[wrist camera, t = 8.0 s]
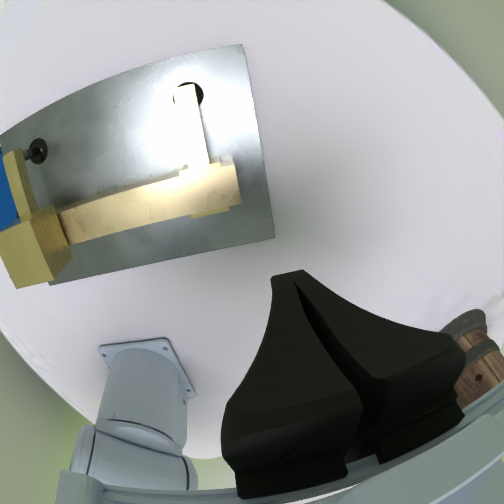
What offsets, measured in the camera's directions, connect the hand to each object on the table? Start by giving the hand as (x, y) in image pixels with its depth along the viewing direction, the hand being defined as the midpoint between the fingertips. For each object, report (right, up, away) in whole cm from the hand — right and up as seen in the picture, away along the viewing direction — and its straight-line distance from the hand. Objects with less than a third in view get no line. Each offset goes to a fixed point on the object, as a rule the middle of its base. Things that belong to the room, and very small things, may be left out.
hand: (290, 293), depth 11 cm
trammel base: (-11, +7, +7) cm, 15 cm away
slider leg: (-17, +6, +5) cm, 18 cm away
